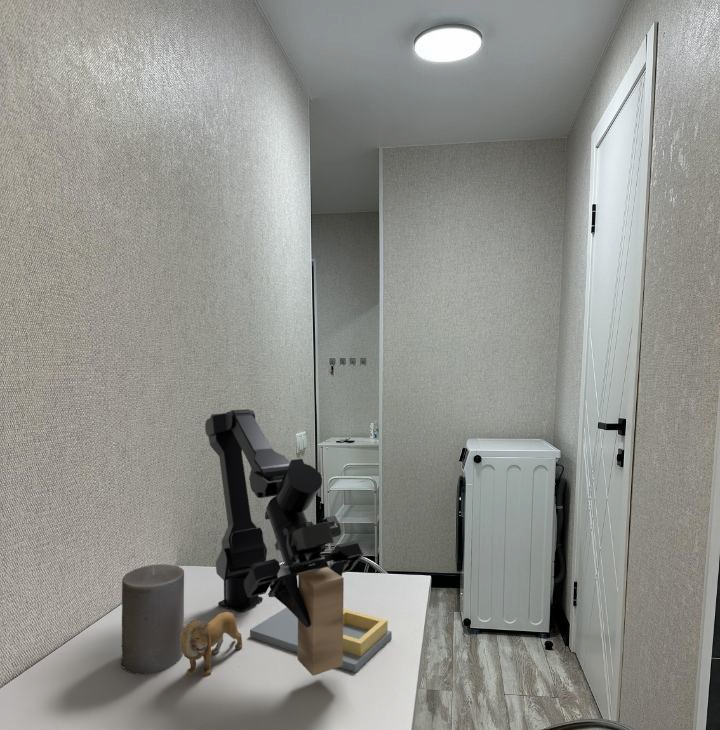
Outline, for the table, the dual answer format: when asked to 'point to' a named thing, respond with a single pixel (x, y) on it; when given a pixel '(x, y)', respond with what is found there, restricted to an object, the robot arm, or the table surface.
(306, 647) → the walnut column
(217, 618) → the lion figurine
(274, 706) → the table surface
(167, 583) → the pillar candle
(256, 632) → the base board
